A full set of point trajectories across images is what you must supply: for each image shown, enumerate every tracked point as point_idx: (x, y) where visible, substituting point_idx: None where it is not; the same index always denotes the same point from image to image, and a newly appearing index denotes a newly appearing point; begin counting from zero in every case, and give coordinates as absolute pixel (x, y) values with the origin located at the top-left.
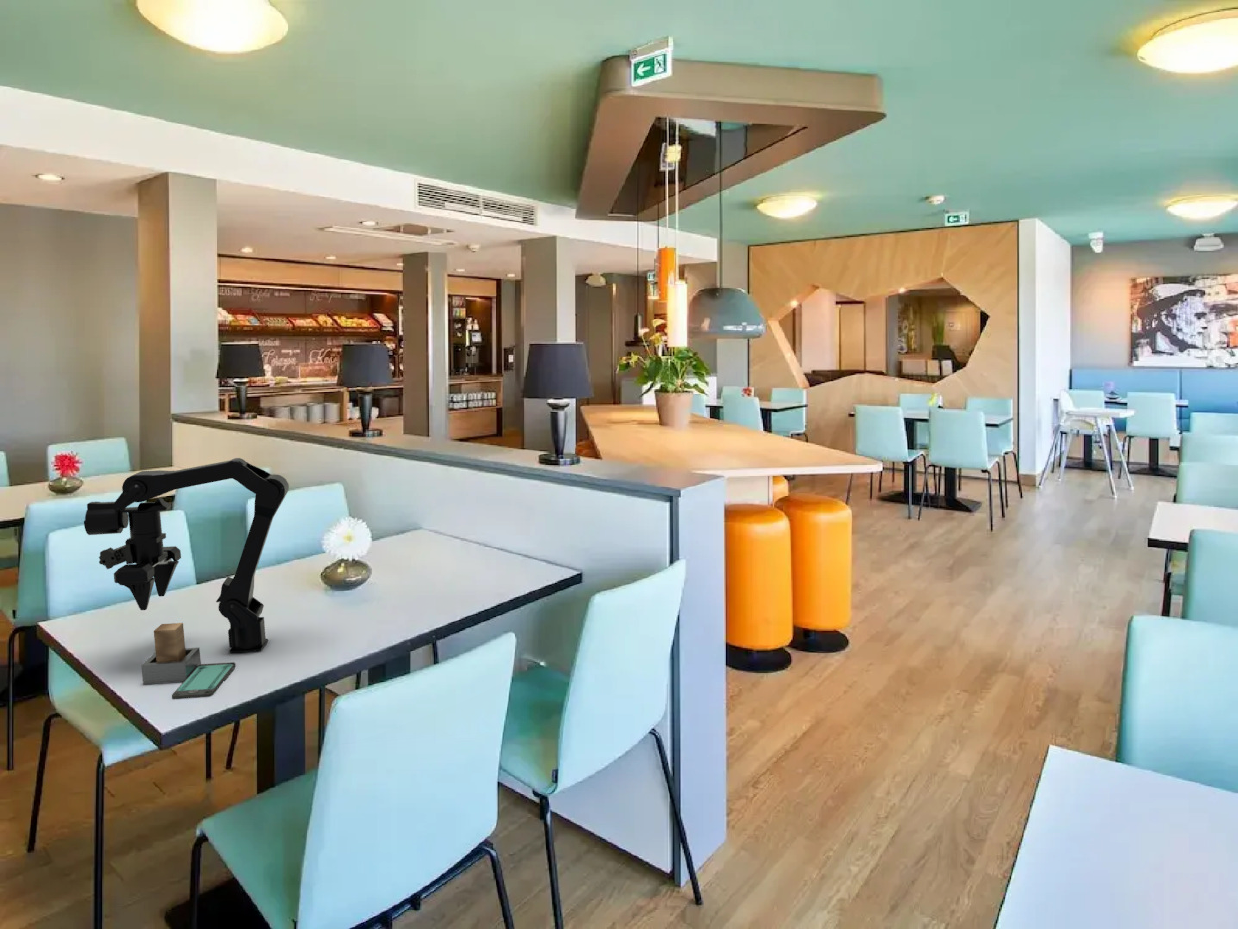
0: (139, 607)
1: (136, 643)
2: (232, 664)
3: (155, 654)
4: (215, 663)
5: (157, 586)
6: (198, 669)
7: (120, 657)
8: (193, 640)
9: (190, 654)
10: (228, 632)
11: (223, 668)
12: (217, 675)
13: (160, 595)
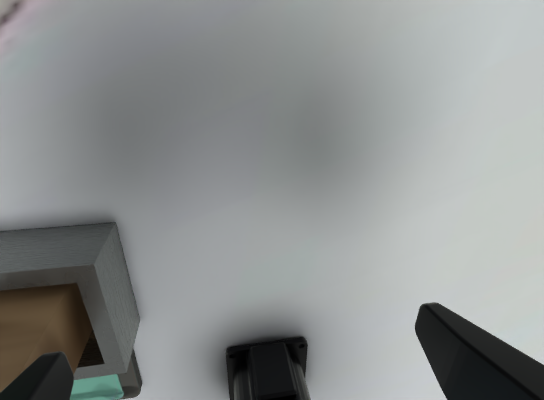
0: (16, 379)
1: (400, 15)
2: (124, 395)
3: (40, 278)
4: (130, 362)
5: (492, 375)
6: None
7: (242, 15)
8: (364, 218)
9: None
10: (257, 390)
11: (91, 392)
12: None
13: (421, 319)
